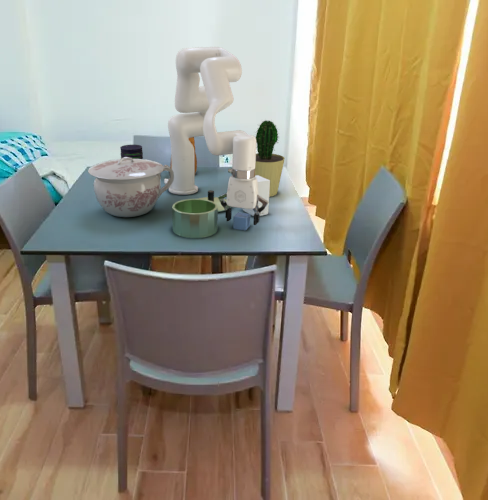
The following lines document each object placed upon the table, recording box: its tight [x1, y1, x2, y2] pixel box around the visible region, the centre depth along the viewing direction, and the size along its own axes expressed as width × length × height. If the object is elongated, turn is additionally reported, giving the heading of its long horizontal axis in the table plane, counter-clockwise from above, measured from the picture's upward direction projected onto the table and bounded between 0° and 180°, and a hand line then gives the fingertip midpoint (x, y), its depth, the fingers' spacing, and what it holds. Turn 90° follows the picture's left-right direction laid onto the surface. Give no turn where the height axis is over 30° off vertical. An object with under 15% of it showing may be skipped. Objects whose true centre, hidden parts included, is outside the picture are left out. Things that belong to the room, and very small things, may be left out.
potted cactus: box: [254, 119, 286, 198], centre depth 197 cm, size 15×15×30 cm
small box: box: [242, 175, 270, 217], centre depth 179 cm, size 8×6×13 cm
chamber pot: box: [87, 157, 174, 218], centre depth 180 cm, size 28×28×21 cm
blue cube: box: [232, 212, 251, 231], centre depth 168 cm, size 4×4×4 cm
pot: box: [171, 198, 219, 239], centre depth 165 cm, size 15×15×8 cm
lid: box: [197, 189, 232, 213], centre depth 187 cm, size 16×16×6 cm
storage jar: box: [120, 144, 144, 159], centre depth 219 cm, size 10×10×15 cm
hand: (242, 222), depth 167 cm, fingers open, 9 cm apart
